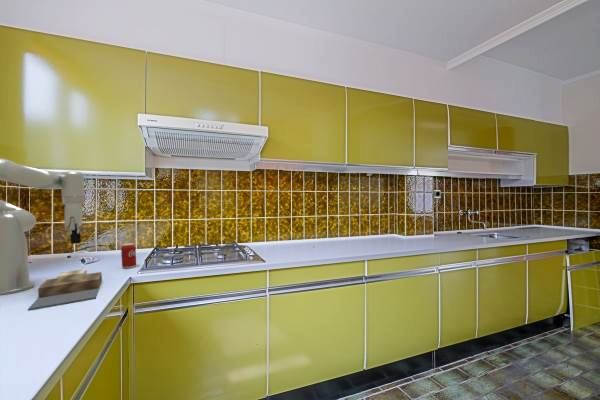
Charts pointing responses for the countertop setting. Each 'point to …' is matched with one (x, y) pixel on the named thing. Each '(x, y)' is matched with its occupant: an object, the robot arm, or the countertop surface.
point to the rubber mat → (64, 299)
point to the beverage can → (128, 255)
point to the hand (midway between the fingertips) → (75, 243)
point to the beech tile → (72, 276)
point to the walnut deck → (70, 285)
